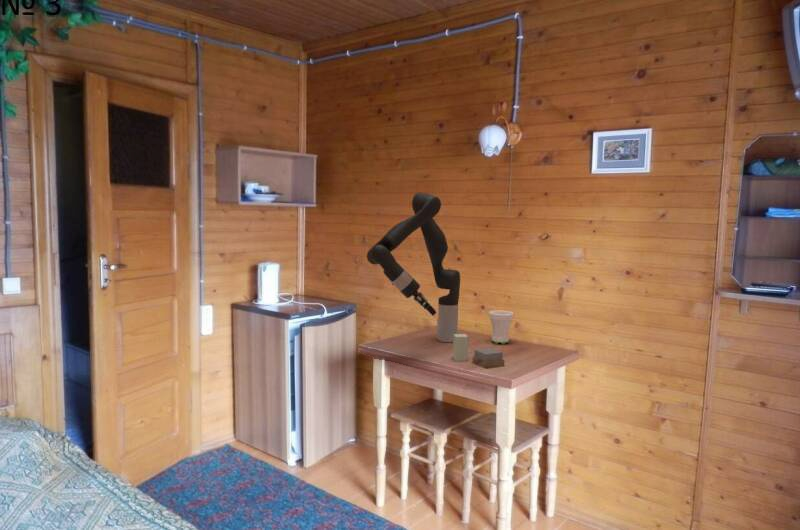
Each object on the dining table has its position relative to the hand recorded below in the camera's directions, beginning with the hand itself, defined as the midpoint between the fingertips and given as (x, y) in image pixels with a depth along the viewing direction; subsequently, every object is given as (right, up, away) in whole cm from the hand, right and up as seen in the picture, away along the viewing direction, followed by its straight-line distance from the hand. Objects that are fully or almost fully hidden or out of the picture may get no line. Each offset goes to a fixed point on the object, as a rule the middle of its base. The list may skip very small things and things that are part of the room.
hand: (433, 312), depth 235 cm
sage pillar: (+11, -20, +3) cm, 23 cm away
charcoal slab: (+22, -18, -4) cm, 29 cm away
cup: (+33, -17, +33) cm, 49 cm away
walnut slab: (+22, -21, -4) cm, 31 cm away
